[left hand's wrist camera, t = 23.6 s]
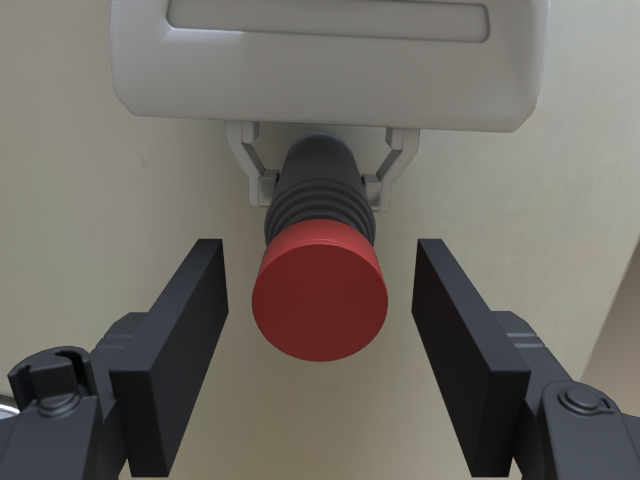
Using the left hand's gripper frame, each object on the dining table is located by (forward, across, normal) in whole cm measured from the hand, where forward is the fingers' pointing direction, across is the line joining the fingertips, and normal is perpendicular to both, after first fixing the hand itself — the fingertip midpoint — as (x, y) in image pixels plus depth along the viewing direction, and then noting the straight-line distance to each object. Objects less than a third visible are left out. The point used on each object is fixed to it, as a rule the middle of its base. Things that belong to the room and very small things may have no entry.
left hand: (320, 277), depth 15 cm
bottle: (+16, 0, 0) cm, 16 cm away
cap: (-2, 0, 0) cm, 2 cm away
